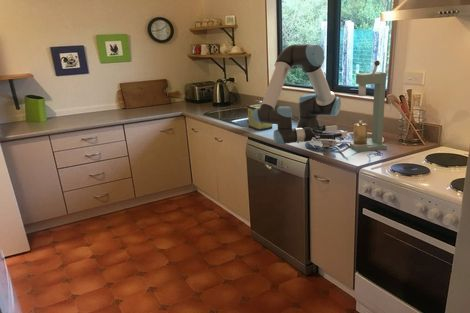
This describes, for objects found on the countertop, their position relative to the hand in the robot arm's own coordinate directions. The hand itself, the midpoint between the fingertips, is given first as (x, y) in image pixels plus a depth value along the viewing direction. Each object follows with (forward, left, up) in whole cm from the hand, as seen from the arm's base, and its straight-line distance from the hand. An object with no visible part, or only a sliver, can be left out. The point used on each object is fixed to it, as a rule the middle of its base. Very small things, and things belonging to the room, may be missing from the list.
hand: (342, 130), depth 197 cm
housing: (0, +10, -8) cm, 13 cm away
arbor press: (0, +13, -10) cm, 17 cm away
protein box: (-64, -33, -10) cm, 73 cm away
